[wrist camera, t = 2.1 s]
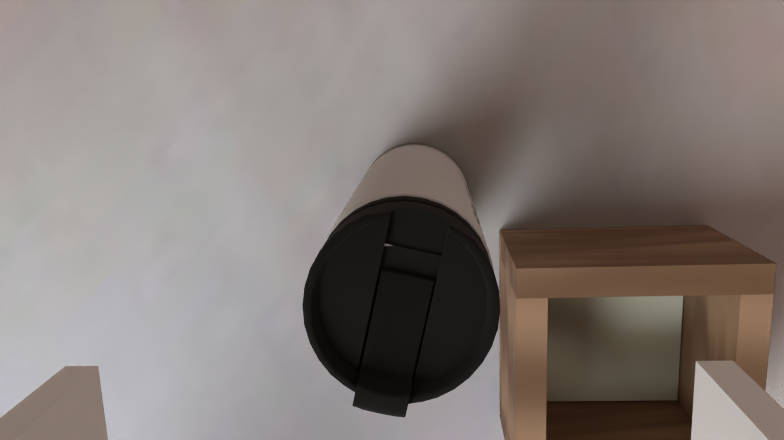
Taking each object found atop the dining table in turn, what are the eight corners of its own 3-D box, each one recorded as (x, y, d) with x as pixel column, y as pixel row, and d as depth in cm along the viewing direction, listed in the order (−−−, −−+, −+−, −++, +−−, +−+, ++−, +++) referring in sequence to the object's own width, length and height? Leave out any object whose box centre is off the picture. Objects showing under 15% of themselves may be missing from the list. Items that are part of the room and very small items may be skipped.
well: (499, 230, 40) (516, 268, 32) (707, 225, 39) (776, 263, 32) (499, 415, 43) (515, 492, 35) (695, 414, 42) (756, 493, 34)
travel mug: (351, 240, 41) (279, 396, 21) (373, 133, 39) (317, 193, 20) (453, 262, 41) (475, 439, 21) (478, 155, 39) (527, 238, 20)
